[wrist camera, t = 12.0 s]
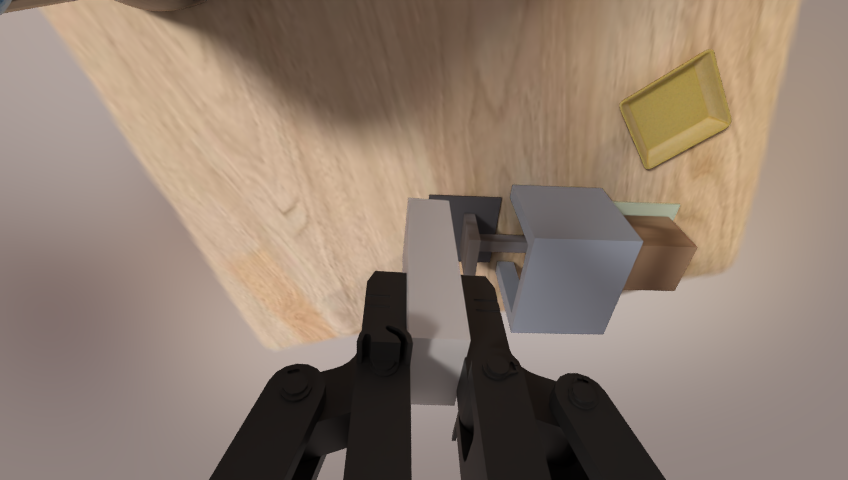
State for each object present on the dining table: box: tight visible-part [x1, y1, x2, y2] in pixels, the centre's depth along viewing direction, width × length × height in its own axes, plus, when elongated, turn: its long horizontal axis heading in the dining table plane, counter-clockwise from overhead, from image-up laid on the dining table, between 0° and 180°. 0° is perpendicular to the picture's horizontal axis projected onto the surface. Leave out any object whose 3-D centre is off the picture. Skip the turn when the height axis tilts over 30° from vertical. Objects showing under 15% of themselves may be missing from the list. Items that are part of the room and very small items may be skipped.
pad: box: [612, 201, 680, 221], centre depth 50 cm, size 8×9×1 cm
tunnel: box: [495, 185, 643, 334], centre depth 46 cm, size 10×12×10 cm
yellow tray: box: [619, 49, 731, 169], centre depth 41 cm, size 9×9×2 cm
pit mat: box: [429, 195, 501, 262], centre depth 49 cm, size 8×9×1 cm
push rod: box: [460, 213, 698, 291], centre depth 47 cm, size 24×6×6 cm, turn 87°
